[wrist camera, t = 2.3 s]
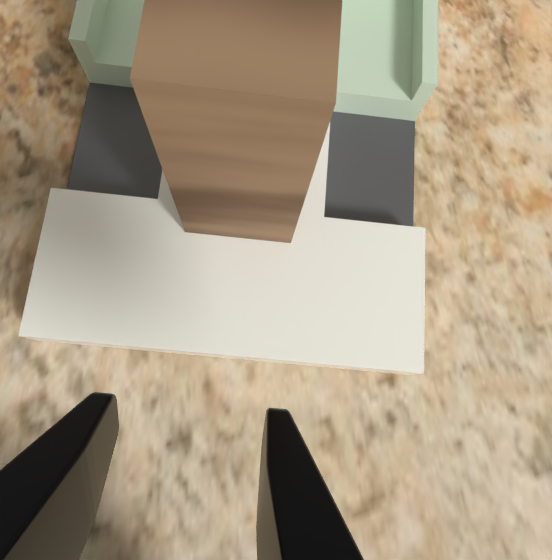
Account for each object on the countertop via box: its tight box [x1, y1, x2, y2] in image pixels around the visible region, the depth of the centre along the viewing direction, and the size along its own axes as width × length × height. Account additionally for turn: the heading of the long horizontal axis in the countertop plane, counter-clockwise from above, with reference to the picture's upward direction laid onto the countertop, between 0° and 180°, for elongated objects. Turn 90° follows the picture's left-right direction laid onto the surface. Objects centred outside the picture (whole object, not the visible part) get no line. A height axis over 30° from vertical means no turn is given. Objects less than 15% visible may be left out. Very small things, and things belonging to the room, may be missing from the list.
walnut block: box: [130, 0, 342, 243], centre depth 17 cm, size 5×5×11 cm
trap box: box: [18, 0, 438, 375], centre depth 23 cm, size 22×18×5 cm
